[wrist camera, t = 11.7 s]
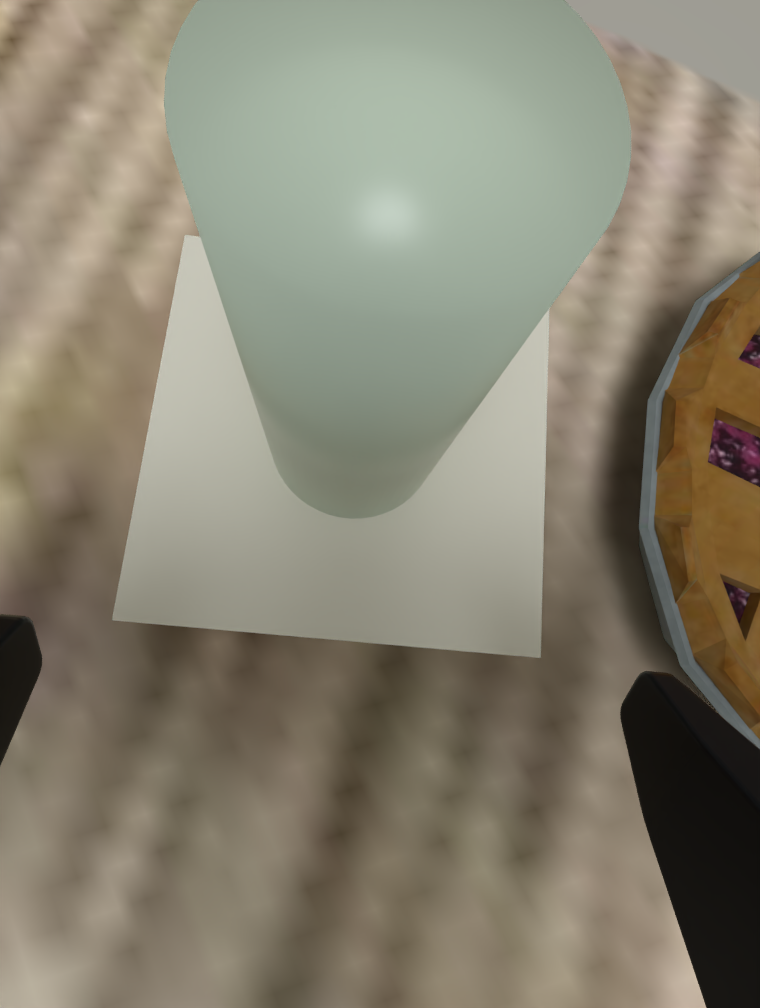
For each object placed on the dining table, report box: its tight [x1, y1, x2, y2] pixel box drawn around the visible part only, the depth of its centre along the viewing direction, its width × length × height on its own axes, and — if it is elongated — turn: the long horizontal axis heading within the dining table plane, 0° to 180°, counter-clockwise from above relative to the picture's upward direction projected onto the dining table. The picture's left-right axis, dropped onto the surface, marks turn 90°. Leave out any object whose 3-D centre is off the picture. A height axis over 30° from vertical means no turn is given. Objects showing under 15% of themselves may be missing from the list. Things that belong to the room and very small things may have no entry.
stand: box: [112, 235, 549, 658], centre depth 18 cm, size 12×12×3 cm
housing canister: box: [164, 0, 631, 519], centre depth 11 cm, size 5×5×11 cm
